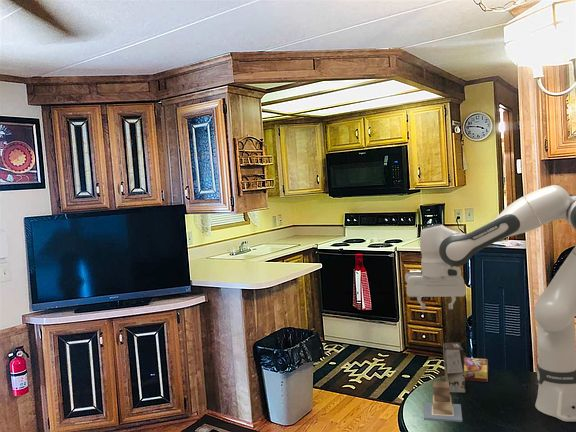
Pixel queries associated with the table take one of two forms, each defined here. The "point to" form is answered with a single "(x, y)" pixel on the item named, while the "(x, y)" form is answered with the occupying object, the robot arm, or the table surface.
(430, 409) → the plate
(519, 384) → the table surface
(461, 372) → the coffee box
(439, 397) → the walnut cube
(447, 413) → the oak block
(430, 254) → the robot arm
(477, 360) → the candy box
